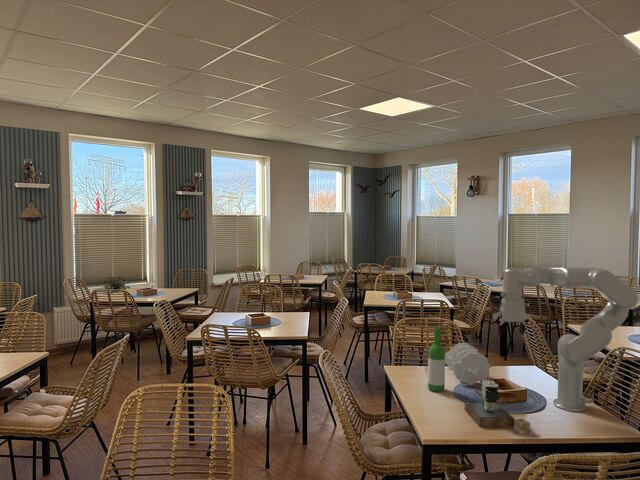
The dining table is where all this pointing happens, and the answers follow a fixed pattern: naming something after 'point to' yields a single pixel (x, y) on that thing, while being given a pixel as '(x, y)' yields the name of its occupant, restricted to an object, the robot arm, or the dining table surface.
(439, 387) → the wine bottle
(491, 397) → the pneumatic valve
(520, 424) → the oak block
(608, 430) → the dining table surface
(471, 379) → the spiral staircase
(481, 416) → the stand
